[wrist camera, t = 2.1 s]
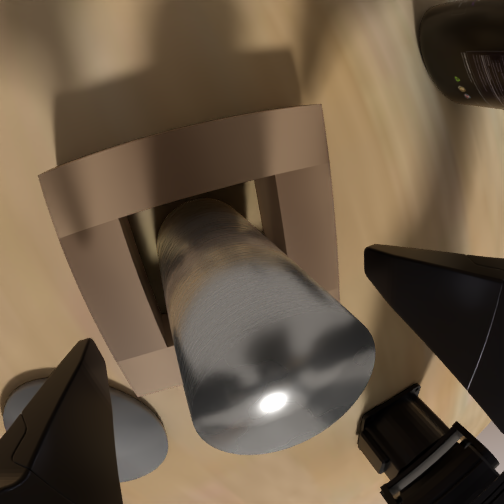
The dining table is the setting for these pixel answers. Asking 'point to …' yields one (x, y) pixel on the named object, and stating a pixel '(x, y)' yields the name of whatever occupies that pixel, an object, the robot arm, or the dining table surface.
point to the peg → (255, 334)
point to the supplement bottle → (466, 51)
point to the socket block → (179, 187)
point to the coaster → (125, 430)
